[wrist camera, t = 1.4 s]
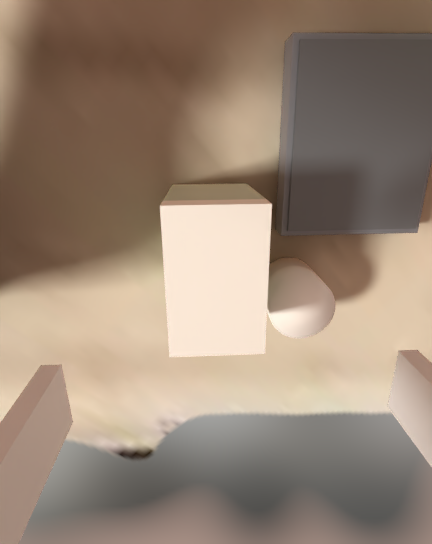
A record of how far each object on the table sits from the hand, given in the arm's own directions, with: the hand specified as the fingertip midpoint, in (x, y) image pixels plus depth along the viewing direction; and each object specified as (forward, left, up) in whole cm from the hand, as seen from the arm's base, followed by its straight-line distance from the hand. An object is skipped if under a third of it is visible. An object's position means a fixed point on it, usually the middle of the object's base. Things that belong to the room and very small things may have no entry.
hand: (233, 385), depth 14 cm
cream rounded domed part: (+8, -5, -22) cm, 24 cm away
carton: (0, 0, -22) cm, 22 cm away
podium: (+13, +9, -22) cm, 27 cm away
